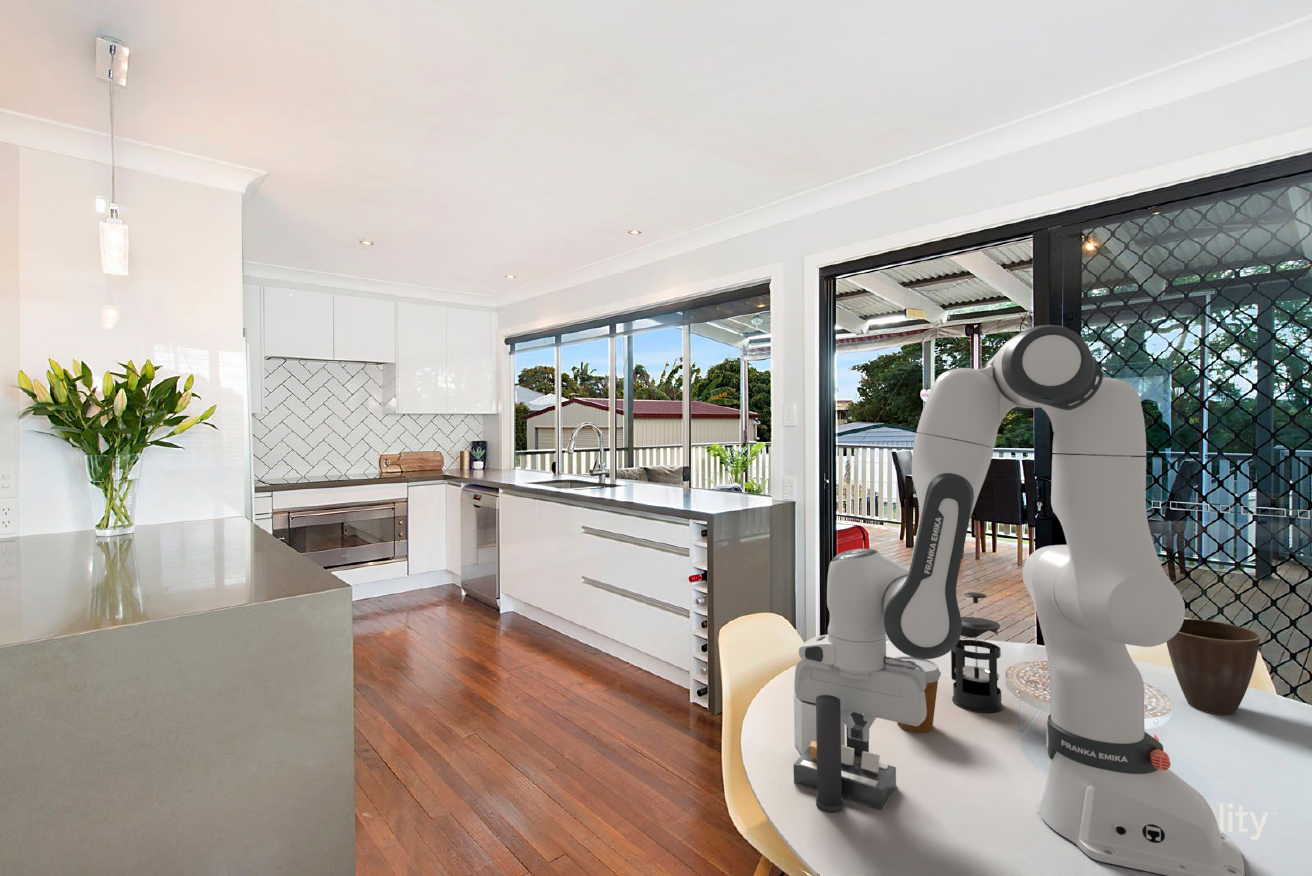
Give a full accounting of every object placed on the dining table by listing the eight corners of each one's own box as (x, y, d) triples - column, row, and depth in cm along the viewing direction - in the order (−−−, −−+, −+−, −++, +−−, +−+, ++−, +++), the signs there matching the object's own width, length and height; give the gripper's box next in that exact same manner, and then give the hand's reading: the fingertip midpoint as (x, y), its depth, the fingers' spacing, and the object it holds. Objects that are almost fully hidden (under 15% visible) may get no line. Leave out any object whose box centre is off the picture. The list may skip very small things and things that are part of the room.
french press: (1016, 711, 129) (1014, 597, 129) (978, 717, 126) (976, 601, 126) (972, 689, 140) (970, 585, 140) (936, 694, 137) (935, 588, 137)
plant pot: (1254, 731, 119) (1252, 645, 119) (1155, 706, 130) (1154, 628, 130) (1267, 709, 128) (1266, 629, 128) (1174, 687, 140) (1172, 614, 140)
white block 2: (878, 771, 100) (879, 755, 101) (876, 772, 99) (877, 755, 100) (863, 767, 101) (864, 751, 102) (860, 768, 100) (862, 751, 101)
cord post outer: (846, 803, 97) (845, 698, 97) (838, 815, 94) (836, 707, 94) (821, 794, 99) (820, 692, 99) (812, 807, 96) (810, 701, 96)
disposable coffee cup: (890, 733, 120) (889, 669, 120) (887, 712, 129) (886, 653, 129) (945, 740, 117) (944, 674, 117) (938, 718, 126) (937, 657, 126)
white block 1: (853, 764, 102) (854, 748, 103) (850, 765, 101) (852, 749, 102) (838, 760, 104) (839, 744, 104) (836, 761, 103) (837, 745, 103)
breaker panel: (896, 785, 102) (895, 765, 102) (882, 810, 95) (881, 788, 95) (811, 761, 110) (811, 743, 110) (793, 782, 103) (793, 762, 103)
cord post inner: (873, 763, 109) (871, 670, 109) (866, 774, 105) (864, 677, 105) (850, 757, 111) (848, 665, 111) (842, 767, 108) (841, 672, 108)
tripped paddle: (828, 756, 104) (826, 744, 104) (825, 761, 103) (823, 749, 103) (814, 752, 106) (812, 740, 105) (811, 757, 105) (809, 745, 104)
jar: (819, 766, 108) (818, 695, 108) (785, 747, 115) (784, 680, 115) (854, 751, 113) (853, 684, 113) (819, 734, 120) (818, 670, 120)
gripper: (930, 657, 98) (932, 747, 98) (804, 636, 110) (805, 716, 109) (921, 670, 93) (923, 765, 93) (789, 646, 104) (791, 730, 104)
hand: (858, 738), depth 101 cm, fingers closed
